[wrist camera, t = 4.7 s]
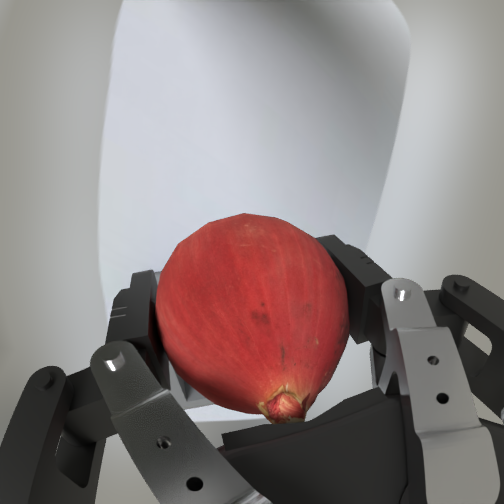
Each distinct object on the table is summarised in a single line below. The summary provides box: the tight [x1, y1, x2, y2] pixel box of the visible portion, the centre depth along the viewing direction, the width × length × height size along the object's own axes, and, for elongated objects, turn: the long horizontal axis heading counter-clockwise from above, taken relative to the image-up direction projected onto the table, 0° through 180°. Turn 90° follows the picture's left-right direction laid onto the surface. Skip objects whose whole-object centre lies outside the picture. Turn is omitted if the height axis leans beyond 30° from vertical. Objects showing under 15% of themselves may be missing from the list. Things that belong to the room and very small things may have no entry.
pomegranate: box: [155, 213, 350, 424], centre depth 9 cm, size 6×6×8 cm
